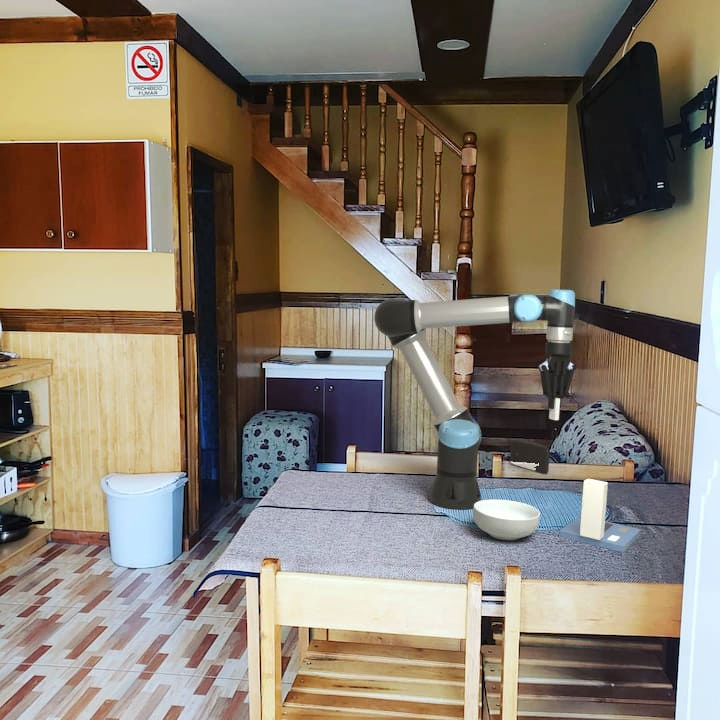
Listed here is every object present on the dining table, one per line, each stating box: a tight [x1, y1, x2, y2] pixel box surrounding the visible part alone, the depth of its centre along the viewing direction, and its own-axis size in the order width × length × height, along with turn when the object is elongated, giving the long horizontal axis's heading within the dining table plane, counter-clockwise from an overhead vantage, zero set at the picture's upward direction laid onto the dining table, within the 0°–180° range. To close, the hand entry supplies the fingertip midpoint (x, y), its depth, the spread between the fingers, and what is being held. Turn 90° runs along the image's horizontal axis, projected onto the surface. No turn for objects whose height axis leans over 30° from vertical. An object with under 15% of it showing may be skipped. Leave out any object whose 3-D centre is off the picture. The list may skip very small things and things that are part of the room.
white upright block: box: [580, 478, 609, 540], centre depth 170 cm, size 3×5×14 cm, turn 53°
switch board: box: [558, 515, 642, 553], centre depth 177 cm, size 16×16×2 cm
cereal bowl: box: [472, 499, 541, 541], centre depth 174 cm, size 17×17×7 cm
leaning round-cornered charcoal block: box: [509, 439, 550, 475], centre depth 242 cm, size 16×5×9 cm, turn 39°
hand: (553, 419), depth 206 cm, fingers closed
